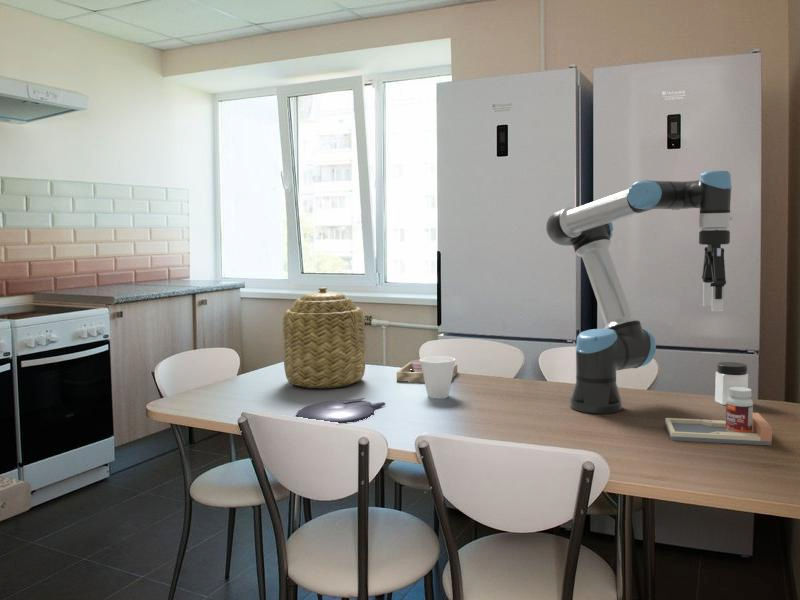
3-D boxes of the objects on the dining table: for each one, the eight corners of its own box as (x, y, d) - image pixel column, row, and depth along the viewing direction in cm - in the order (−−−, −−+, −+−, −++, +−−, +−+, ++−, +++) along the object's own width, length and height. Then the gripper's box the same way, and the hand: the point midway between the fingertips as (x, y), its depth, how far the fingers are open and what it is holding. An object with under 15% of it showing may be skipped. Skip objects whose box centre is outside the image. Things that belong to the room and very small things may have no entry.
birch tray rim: (396, 381, 250) (396, 372, 250) (409, 371, 269) (409, 362, 268) (447, 383, 246) (447, 373, 245) (457, 372, 264) (457, 363, 263)
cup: (415, 399, 223) (414, 361, 222) (427, 391, 234) (426, 355, 233) (449, 401, 219) (449, 363, 218) (460, 393, 230) (460, 356, 229)
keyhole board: (671, 440, 174) (671, 422, 174) (665, 425, 188) (665, 408, 187) (771, 445, 168) (772, 427, 168) (757, 429, 182) (758, 412, 182)
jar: (735, 407, 204) (736, 368, 203) (710, 402, 211) (711, 364, 210) (752, 403, 209) (753, 364, 208) (726, 398, 216) (727, 360, 215)
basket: (297, 373, 269) (294, 284, 265) (373, 374, 264) (370, 283, 261) (273, 391, 239) (269, 291, 236) (357, 392, 235) (354, 290, 231)
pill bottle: (722, 432, 176) (723, 389, 175) (729, 427, 181) (730, 385, 180) (748, 436, 172) (750, 392, 171) (755, 431, 177) (756, 388, 176)
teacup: (427, 382, 249) (426, 365, 248) (398, 379, 255) (398, 363, 254) (441, 376, 259) (441, 360, 258) (414, 373, 265) (413, 357, 264)
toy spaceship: (350, 399, 227) (350, 389, 227) (401, 411, 210) (400, 400, 210) (279, 416, 208) (279, 405, 208) (329, 430, 191) (329, 419, 191)
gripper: (740, 229, 171) (737, 314, 173) (720, 229, 195) (719, 303, 197) (707, 229, 172) (705, 313, 175) (692, 229, 196) (690, 303, 199)
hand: (712, 308), depth 186 cm, fingers open, 13 cm apart
